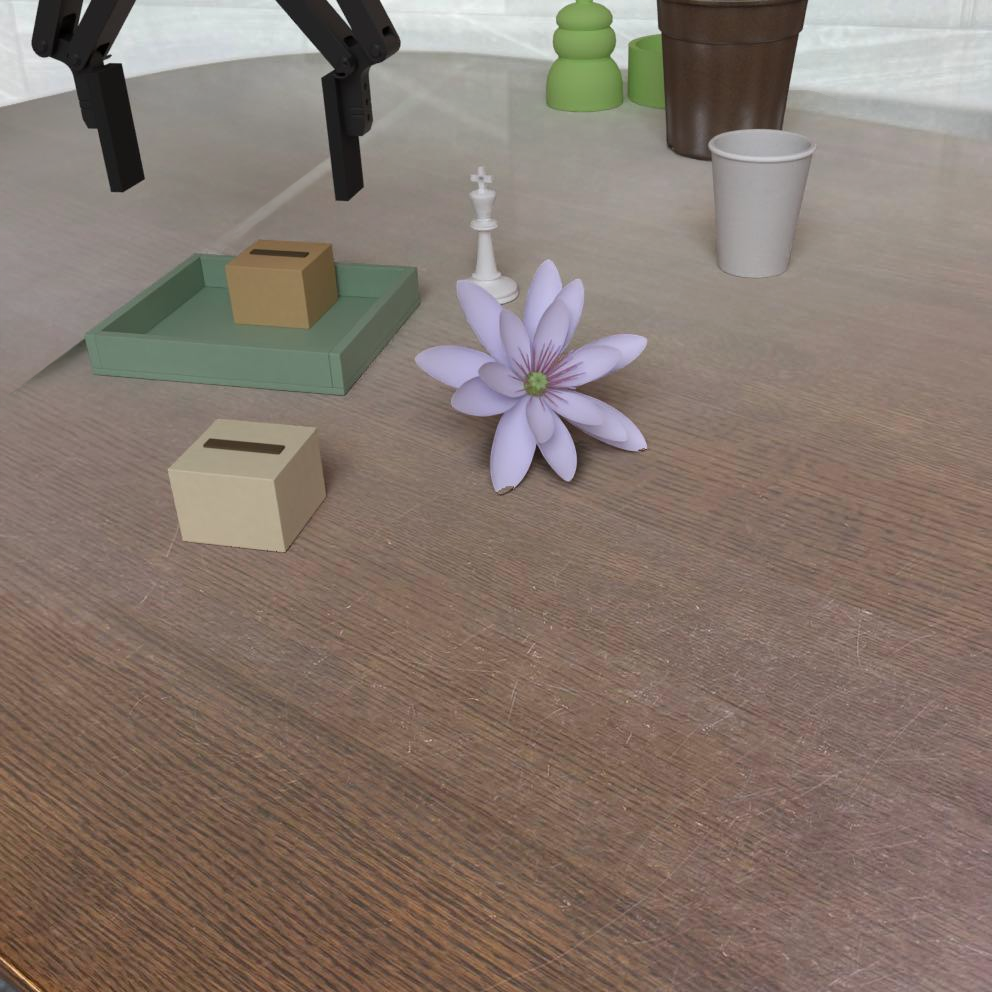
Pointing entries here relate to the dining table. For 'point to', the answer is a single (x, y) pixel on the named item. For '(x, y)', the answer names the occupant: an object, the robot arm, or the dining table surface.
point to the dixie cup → (758, 198)
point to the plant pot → (725, 67)
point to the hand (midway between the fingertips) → (237, 190)
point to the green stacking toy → (600, 63)
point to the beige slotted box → (248, 484)
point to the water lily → (534, 376)
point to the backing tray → (252, 331)
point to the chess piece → (488, 243)
